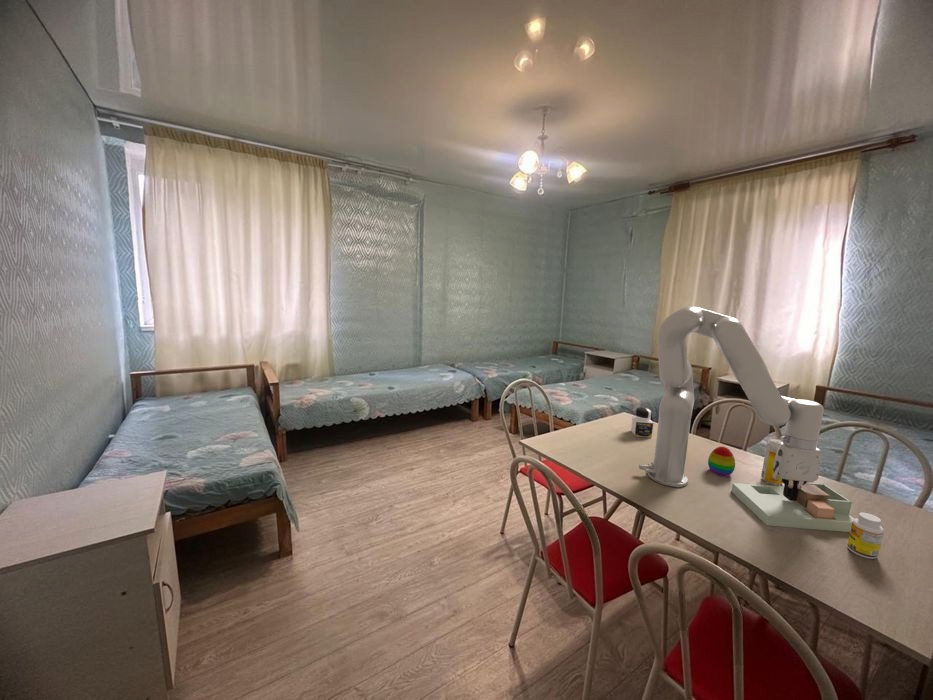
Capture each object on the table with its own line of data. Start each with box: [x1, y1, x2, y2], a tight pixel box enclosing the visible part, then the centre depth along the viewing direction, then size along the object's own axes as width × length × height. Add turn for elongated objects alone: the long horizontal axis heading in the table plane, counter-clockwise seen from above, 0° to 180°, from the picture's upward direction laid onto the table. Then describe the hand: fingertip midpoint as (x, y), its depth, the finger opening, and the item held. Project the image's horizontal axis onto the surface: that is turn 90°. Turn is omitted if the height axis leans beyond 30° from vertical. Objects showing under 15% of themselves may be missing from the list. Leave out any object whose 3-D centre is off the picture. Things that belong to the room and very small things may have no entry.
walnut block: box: [796, 484, 830, 508], centre depth 116 cm, size 6×6×4 cm
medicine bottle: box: [630, 407, 654, 439], centre depth 173 cm, size 7×7×12 cm
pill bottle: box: [760, 437, 784, 486], centre depth 133 cm, size 6×6×15 cm
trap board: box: [731, 482, 855, 533], centre depth 116 cm, size 24×18×7 cm
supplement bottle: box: [847, 512, 885, 560], centre depth 98 cm, size 6×6×10 cm
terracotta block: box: [806, 500, 834, 519], centre depth 111 cm, size 4×4×6 cm
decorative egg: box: [707, 446, 736, 477], centre depth 139 cm, size 8×8×10 cm
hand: (789, 498), depth 116 cm, fingers closed
